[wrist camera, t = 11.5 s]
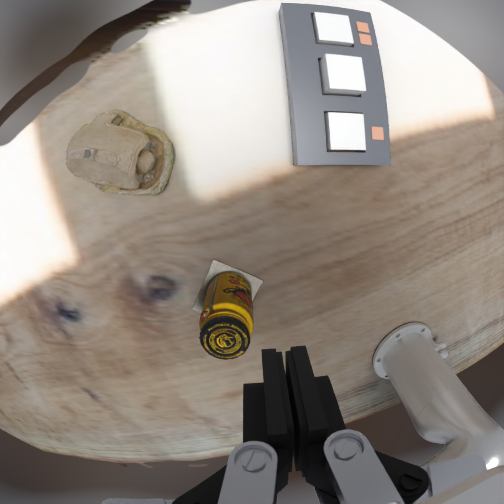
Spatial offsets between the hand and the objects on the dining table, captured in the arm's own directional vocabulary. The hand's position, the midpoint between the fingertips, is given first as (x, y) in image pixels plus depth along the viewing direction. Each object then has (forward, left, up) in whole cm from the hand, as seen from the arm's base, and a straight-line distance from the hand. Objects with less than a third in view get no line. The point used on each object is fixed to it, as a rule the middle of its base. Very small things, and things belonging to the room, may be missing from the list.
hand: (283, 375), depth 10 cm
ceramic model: (+17, -11, -28) cm, 34 cm away
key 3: (-11, -11, -27) cm, 31 cm away
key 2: (-11, -18, -25) cm, 33 cm away
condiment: (+5, +10, -27) cm, 30 cm away
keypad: (-11, -18, -27) cm, 34 cm away
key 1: (-11, -25, -27) cm, 38 cm away
